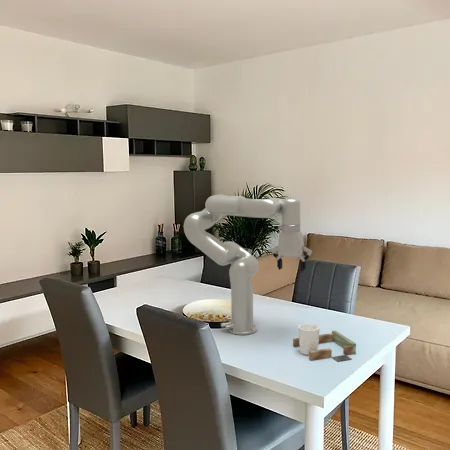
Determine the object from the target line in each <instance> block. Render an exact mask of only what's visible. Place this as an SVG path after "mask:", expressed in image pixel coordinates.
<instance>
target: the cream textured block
mask: <svg viewBox="0 0 450 450" xmlns="http://www.w3.org/2000/svg"><path fill="white" fill-rule="evenodd" d="M319 335H320V326H319V325H317V324H313V323H302V324H300V325H299V326H298V338H299V344H300V346H299V352H300V353H301V354H302V355H305V356H309V351H315V350H319V344H318V343H319Z"/></svg>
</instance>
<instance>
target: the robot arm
mask: <svg viewBox="0 0 450 450" xmlns="http://www.w3.org/2000/svg"><path fill="white" fill-rule="evenodd" d="M204 205H205V208H203V209H202V210H201V211H196V212H192V213H190V214H189V215H187V216H186V218H185V219H184V222H183V232H184V234H185V236H186V238H187V240H188V241H189V243H191V244H192V245H193V246H195V247H196V248H197V249H198V250H200V251H201V252H202V253H204V255H206V256H207V257H208V258H210V259H211V260H212V261H214V262H215V263H216V264H217V265H219V266H222V267H223V266H225V267H226V266H227V265H229V264H230V267H229V271H228V272H229V273H228V275H229V281H230V296H231V297H230V298H231V299H230V300H231V302H230V303H231V308H230V309H231V319H229V321H227V322H220V327H221V328H225V329H227V330H228V332H229V333H231V334H232V335H239V336H241V335H242V336H244V335H245V336H246V335H252V334H254V333H256V332H257V330H258V327H257V326H256V324H254V287H253V280H252V277H254V276H255V275H256V274H257V273H258V272H259V268H260V264H259V262H258V260H257V258H256V257H255V256H254V255H253V254H251V253H250V252H249V251H247V250H246V249H245V248H243V247H242V246H241V245H239V244H238V243H236V242H234V241H230V240H229V241H224V242H222V241H221V240H219V239H218V238H217V237H216V236H214V235H213V234H211V233H209V232H207V231H206V230H208V229H210V228H212V227H213V226H214V225H215V224H216V223H217V222H218V221H219V220H221V218H223V216H231V217H232V216H233V217H234V216H235V217H236V216H237V217H242V218H243V217H244V218H245V217H246V218H259V219H260V218H261V219H270V218H271V219H272V218H273V217H276V216H281V225H278V229H279V230H281V231H280V232H279V235H278V241H277V243H278V244H277V246H274V247H273V248H271V249H270V250H271V253H272V255H273V257H274V258H275V259H276V263H277V268H278V270H282V269H283V258H284V257H289V258H299V259H300V260H301V262H300V271H301V272H304V271H305V270H306V268H307V266H306V265H307V263H306V262H307V260H309V258H310V257H311V255H312V253H313V250H312V249H310V248H308V247H306V246H305V243H304V237H303V232H302V231H301V201H300V199H299V198H278V197H271V198H262V199H259V198H258V199H256V198H247V197H245V196H243V195H226V194H222V193H219V194H214V195H211V196H209V197H208V198H207V199H206V201H205V204H204ZM305 252H306V253H307V254H306V255H305Z"/></svg>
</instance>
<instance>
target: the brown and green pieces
mask: <svg viewBox="0 0 450 450" xmlns="http://www.w3.org/2000/svg"><path fill="white" fill-rule="evenodd" d="M325 343H335V344H336V345H338V346H339V347H341V348H342V349H343V351H342V355H335V356H332V352H333V350H332V349H331V348H328V347H327V348H321V349H318V350H315V351H309V355H308V356H309V357H308V359H309V360H310V361H317V360H323V359H330V358H332V360H334V361H336V362H337V363H339V362H345V361H351V360H353V359H352V358H351V357H350V356H348V355H356V354H357V343H356V342H354V341H353V340H351V339H350V338H348V337H346V336H344V335H343V334H342V333H340V332H339V331H337V330H331V333H325V334H319V343H318V345H319V344H325ZM292 346H293V347H294V348H300V344H299V337H295V338H292Z"/></svg>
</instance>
